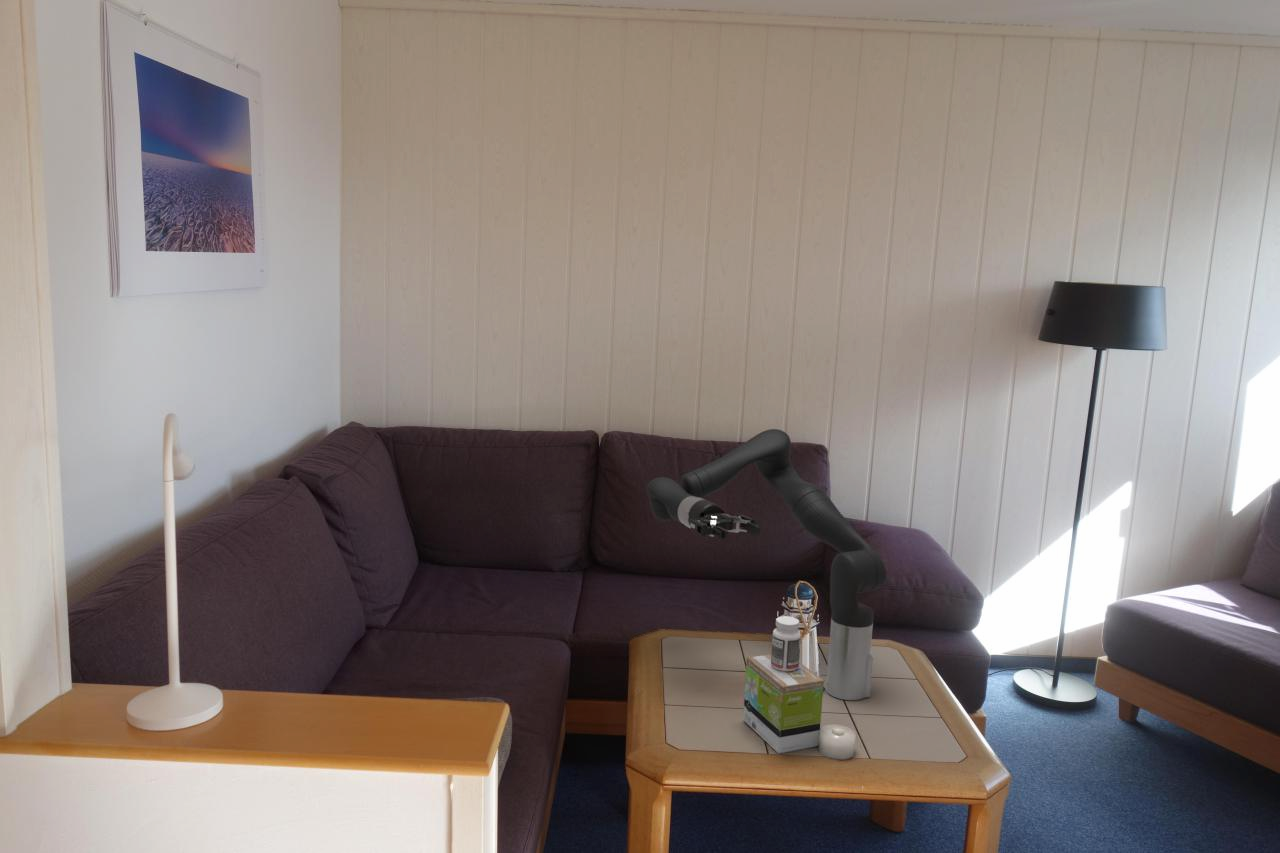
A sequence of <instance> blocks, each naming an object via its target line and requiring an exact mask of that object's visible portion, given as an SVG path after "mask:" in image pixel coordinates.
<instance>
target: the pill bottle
mask: <svg viewBox="0 0 1280 853" xmlns="http://www.w3.org/2000/svg"><path fill="white" fill-rule="evenodd" d="M799 628H800V620H799V619H798V618H796V617H793V616H789V615H788V616H787V615H783V616H779V617H777V618H776V619H775V628H774V629H773V631H772V641H771V653H770V654H771V665H772V666H773V667H774V668H775V669H777V670H781V671H794V670H796V669H797V668H798V667H799V662H800V656H801V655H800V654H801V643H802V642H801V640H802V634H801V631H800V630H799Z"/></svg>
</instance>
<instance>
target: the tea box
mask: <svg viewBox="0 0 1280 853" xmlns="http://www.w3.org/2000/svg"><path fill="white" fill-rule="evenodd" d="M824 682H825V680H824V679H823V678H821V677H820V676H818V675H817V674H816V673H814V672H813V671H812V670H810V669H809V668H808V667H806V666H805V665H804V664H802V663H801V662H800V661H799V667H798V668H797V669H796V670H794V671H781V670H777V669H775V668H774V667H773V666H772V665H771V653H769V654H763V655H757V656H751V657H749V656H748V657H746V663H745V682H744V693H743V694H744V697H743V699H744V700H743V709H742V710H743V711H742V712H743V715H742V720H743V722H744V723H745V724H747V725H748V726H749V728H751V729H752V730H753V731H754V732H755V733H756V734H758V735H759V737H761V739H762V740H764V741H765V742H766V743H767V744H768V745H769V746H770V747H771V748H772V749H773V750H774V751H775V752H776V753H777V754H782V753H783V754H785V753H789V752H794V751H800V750H805V749H811V748H815V747H819V738H820V729H821V721H822V710H823V709H822V708H823V697H824V684H825V683H824Z"/></svg>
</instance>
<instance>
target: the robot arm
mask: <svg viewBox="0 0 1280 853" xmlns="http://www.w3.org/2000/svg"><path fill="white" fill-rule="evenodd" d="M791 451H792V443H791V438H790V436H789V434H788V433H787V432H786V431H783V430H781V429H777V428H773V429H766V430H764V431H761V432H760V433H757V434H756V435H754V436H752V437H751V438H750V439H748V440H747V441H745V442H743V443H742V444H740V445H738V446H736V447H735V448H734V449H733V450H731V451H730V452H728V453H726V454H724V455H723V456H721V457H720V458H717V459H715V460H714V461H712V462H709V463H708V464H705V465H703V466H700V467H698V468H696V469H694V470H691V471H690V472H687V473H685V474H683V475H682V476H681V478H680V484H679V483H677V482H676V481H675V480H674V479H672V478H669V477H665V476H661V477H660V476H659V477H656V478H653V479H652V480H650V481H649V483H648V484H647V486H646V494H647V499H648V501H649V505H650V508H651V512H652V515H653V517H654V518H655V519H656V520H658V521H661V522H666V521H671V520H674V521H676V522H679V523H681V524H682V525H684V526H685V527H687V528H689V529H690V531H691V532H693V533H695V534H697V535H699V536H700V537H702V538H705V537H713V538H714V537H716V538H718V539H720V540H722V541H727V540H728V534H729V533H736V534H737V533H740V532H744V533H747V534H749V535H752V536H754V537H758V536H760V534H761V533H760V529H761V527H760V526H759V525H758V524H756V522H757V521H756V520H757V519H755V518H753V517H750V516H748V515H744V514H742V513H737V514H736V515H730V514H728V513H726V512H725V511H724V508H722V506H720V505H719V504H717V503H715V502H712V501H710V500H708V499H705V497H708V496H710V495H712V494H713V493H716V492H718V491H720V490H721V489H723V488H725V487H726V486H727V485H728V484H729V483H730V482H731V481H733V479H734V478H735V477H737V475H738V474H740V473H741V471H743V470H745V468H747V467H748V466H749V465H751V464H753V463H754V465H755V469H756V470H757V471H758V473H759V474H760V475H761V476H762V477H763V478H764V479H765V481H767V482H768V483H769V485H771V487H772V488H773V489H774V490H775V491H776V492H777V493H778V495H779V496H780V497H781V499H782V500H783V502H784V503H785V505H786V506H787V507H788V509H789V510H790V512H791V513H792V515H793V517H795V519H796V520H797V521H798V523H799V524H800V526H802V529H804V531H806V532H807V533H808V534H810V535H811V536H813V537H814V538H815V539H818V540H819V541H820V542H822V543H824V544H826V545H828V546H830V547H832V548H834V549H835V550H836V551H838V552H839V553H837V554H836V555H835V556H834V558H833V560H832V563H831V567H830V582H829V584H830V585H829V586H830V588H829V605H830V610H831V618H830V629H829V630H830V631H829V644H828V655H827V656H828V657H827V658H828V659H827V666H826V667H827V669H826V679H825V692H826V693H828V695H830V696H831V697H834V698H836V699H839V700H844V701H859V700H862V699H864V698H870V695H871V683H872V674H873V664H874V663H873V662H874V658H873V656H872V655H871V649H872V638H873V627H874V616H875V614H874V610H873V609H872V608H871V607H869V606H868V605H866V604H865V603H860V602H859V593H863V592H864V593H865V592H873V591H876V590H879V589H880V588H882V587H883V586H884V585H885V584H886V582H887V578H888V574H887V572H888V571H887V568H886V564H885V563H884V561H883V559H882V557H881V556H880V554H879V553H878V552H877V551H876V550H875V549H874V547H872V546H871V545H870V543H868V542H867V541H866V540H865V539H864V538H863V537H862V536H861V535H860V534H859V533H858V532H857V531H856V529H855V528H854V527H853V526H852V525H851V524H850V523H849V521H848V520H847V519H846V517H844V516H843V514H842V513H841V512H840V510H839V509H838V508H837V507H836V505H835V503H834V502H833V501H832V500H831V499H830V497H829V496H828V495H827V493H826V492H825V491H824V490H823V489H822V488H821V487H820V486H818V485H816V484H814V483H811V482H809V481H806V480H804V479H802V478H801V477H800V476H799V474H798V472H796V470H795V469H794V466H793V465H792V462H791V453H792V452H791ZM734 524H735V528H734ZM728 532H729V533H728Z"/></svg>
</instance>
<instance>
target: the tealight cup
mask: <svg viewBox="0 0 1280 853" xmlns="http://www.w3.org/2000/svg"><path fill="white" fill-rule="evenodd" d="M856 737H857V736H856V732H855V731H854V729H852V728H850V727H848V726H845V725H841V724H834V723H833V724H826V725H824V726H822V727H820V736H819V745H818V751H819V752H820V754H822V755H824V757H827V758H829V759H833V760H841V761H842V760H848V759H851V758H852V757H854V755H855V748H856V747H855V746H856Z"/></svg>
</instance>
